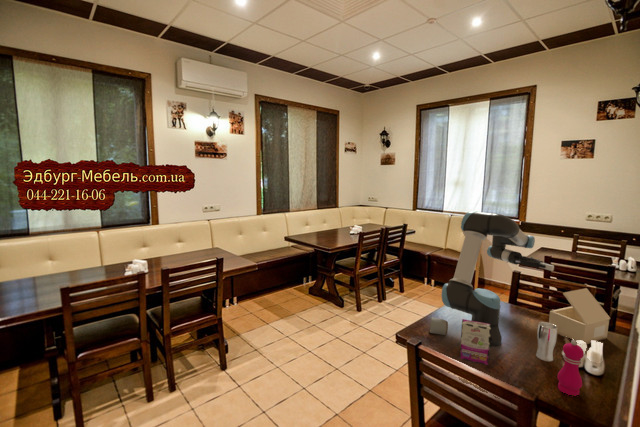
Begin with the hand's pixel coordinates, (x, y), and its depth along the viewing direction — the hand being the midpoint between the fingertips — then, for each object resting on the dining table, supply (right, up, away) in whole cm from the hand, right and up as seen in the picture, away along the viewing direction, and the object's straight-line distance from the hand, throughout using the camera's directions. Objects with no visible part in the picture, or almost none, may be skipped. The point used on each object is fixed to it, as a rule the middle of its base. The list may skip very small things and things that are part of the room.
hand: (552, 268), depth 166 cm
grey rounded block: (-65, -31, -8) cm, 72 cm away
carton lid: (+6, -16, -14) cm, 22 cm away
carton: (+5, -31, -9) cm, 33 cm away
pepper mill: (-32, -37, -51) cm, 70 cm away
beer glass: (-26, -34, -30) cm, 52 cm away
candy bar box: (-58, -34, -31) cm, 74 cm away
